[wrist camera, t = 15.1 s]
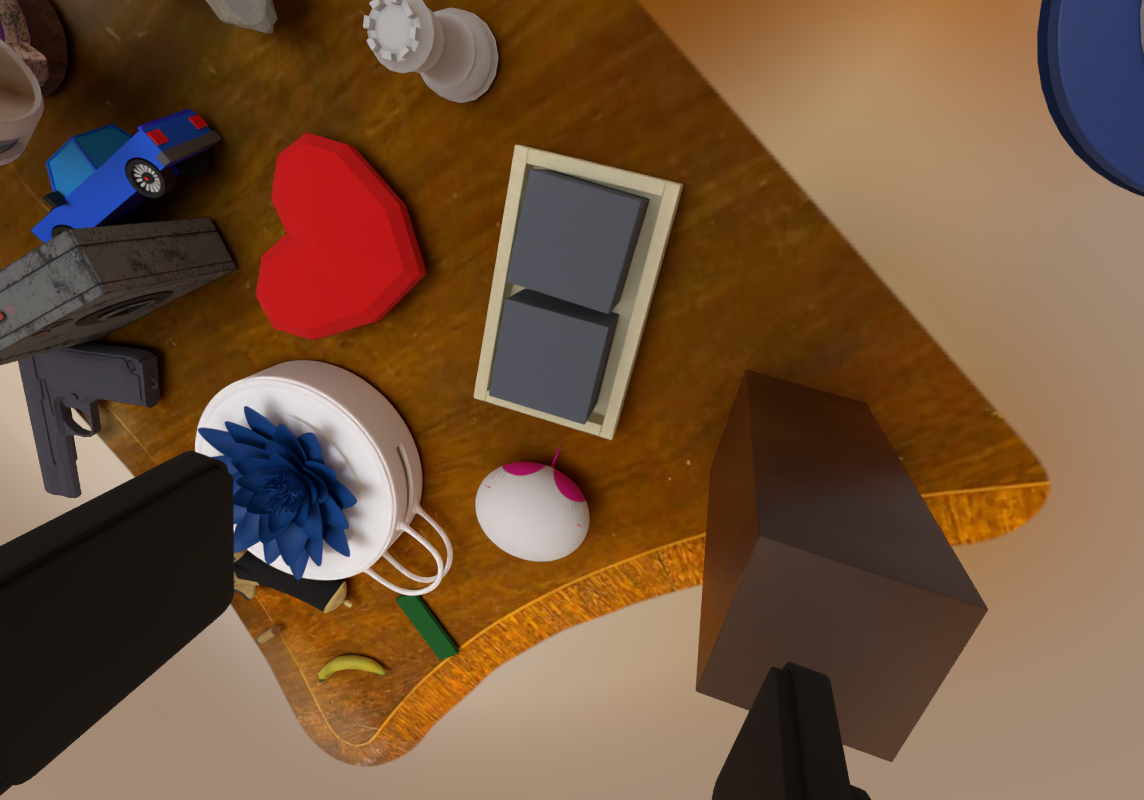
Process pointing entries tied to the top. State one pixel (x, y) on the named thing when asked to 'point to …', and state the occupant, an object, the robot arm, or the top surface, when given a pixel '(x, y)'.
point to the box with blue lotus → (318, 472)
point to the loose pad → (576, 239)
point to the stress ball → (532, 511)
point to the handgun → (80, 400)
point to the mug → (36, 39)
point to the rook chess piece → (434, 46)
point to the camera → (102, 281)
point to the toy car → (122, 171)
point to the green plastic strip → (427, 626)
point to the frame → (634, 293)
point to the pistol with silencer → (285, 586)
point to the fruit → (350, 665)
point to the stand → (827, 565)
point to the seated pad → (552, 355)
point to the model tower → (17, 104)
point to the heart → (335, 242)
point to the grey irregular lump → (246, 13)
